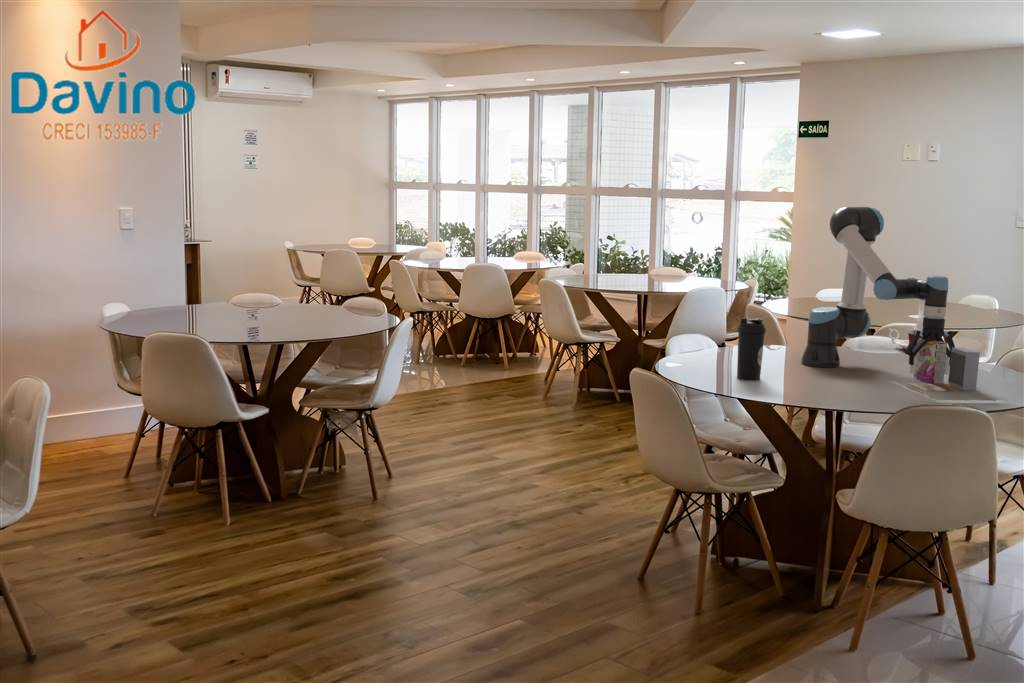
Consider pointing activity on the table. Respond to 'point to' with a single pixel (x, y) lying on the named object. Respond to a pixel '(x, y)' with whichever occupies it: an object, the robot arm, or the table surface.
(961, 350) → the grey upright block
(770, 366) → the table surface
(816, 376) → the table surface
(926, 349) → the candy bar box
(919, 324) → the candlestick
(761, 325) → the water bottle
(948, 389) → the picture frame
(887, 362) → the table surface
